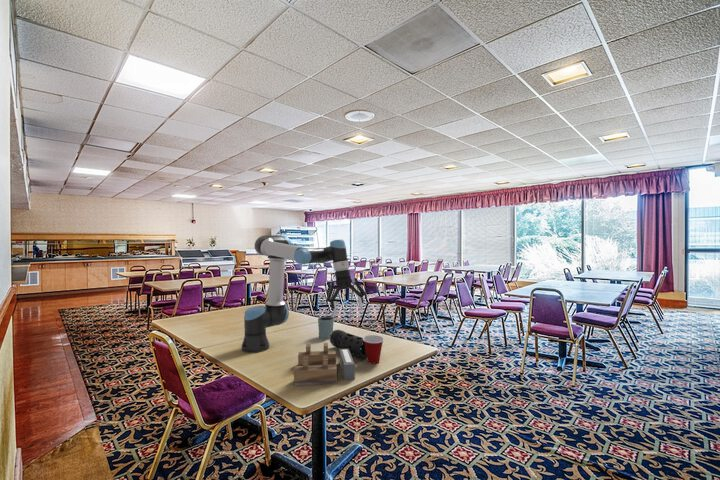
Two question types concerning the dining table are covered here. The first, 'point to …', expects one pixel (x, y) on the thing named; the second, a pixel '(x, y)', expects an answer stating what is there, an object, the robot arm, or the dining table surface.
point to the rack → (316, 367)
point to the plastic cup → (373, 347)
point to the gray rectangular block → (347, 364)
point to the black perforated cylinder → (348, 342)
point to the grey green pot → (325, 327)
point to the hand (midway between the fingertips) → (348, 312)
